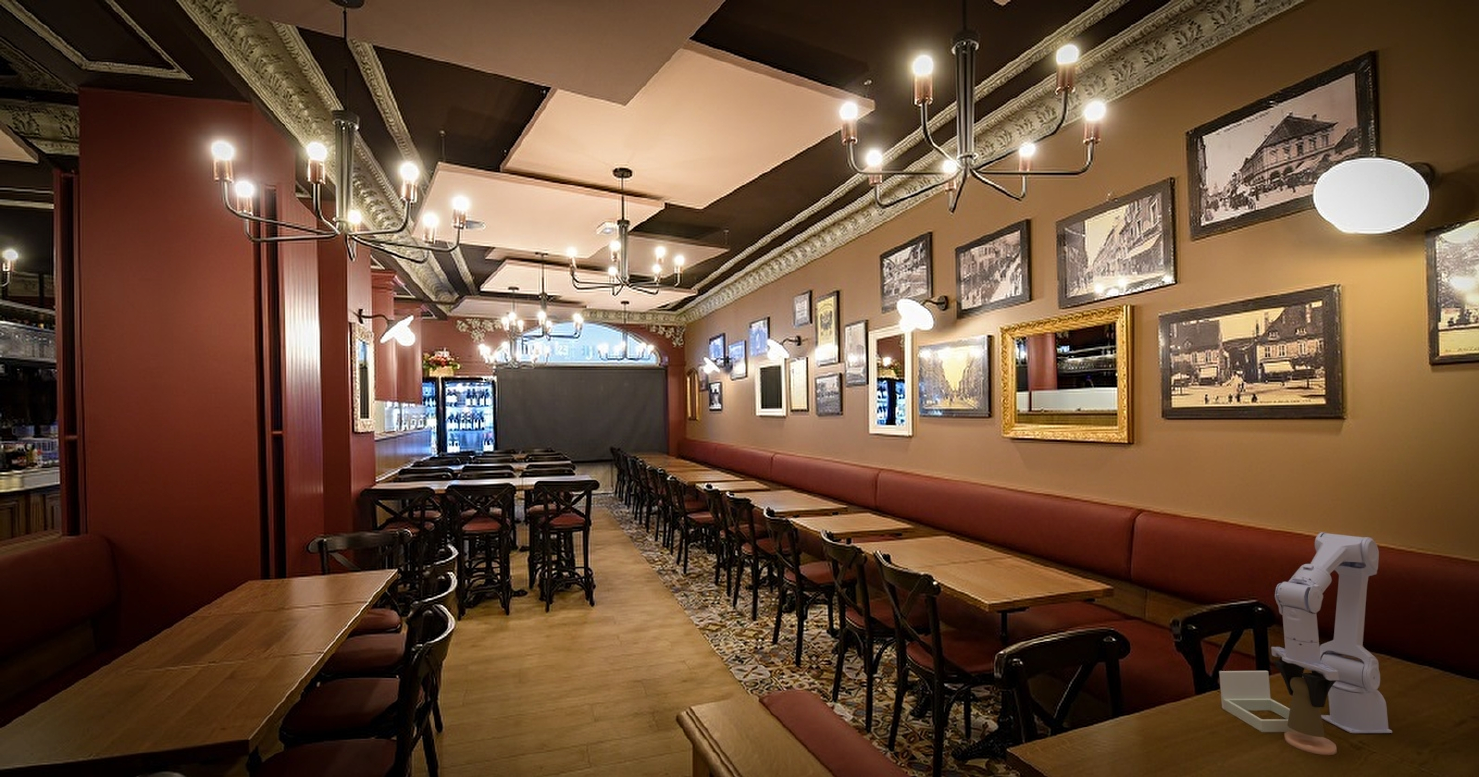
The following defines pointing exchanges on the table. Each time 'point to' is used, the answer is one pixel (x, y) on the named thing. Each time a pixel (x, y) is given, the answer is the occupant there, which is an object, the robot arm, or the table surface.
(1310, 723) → the brown tapered cylinder
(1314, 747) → the peach flat disc
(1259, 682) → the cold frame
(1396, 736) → the table surface
